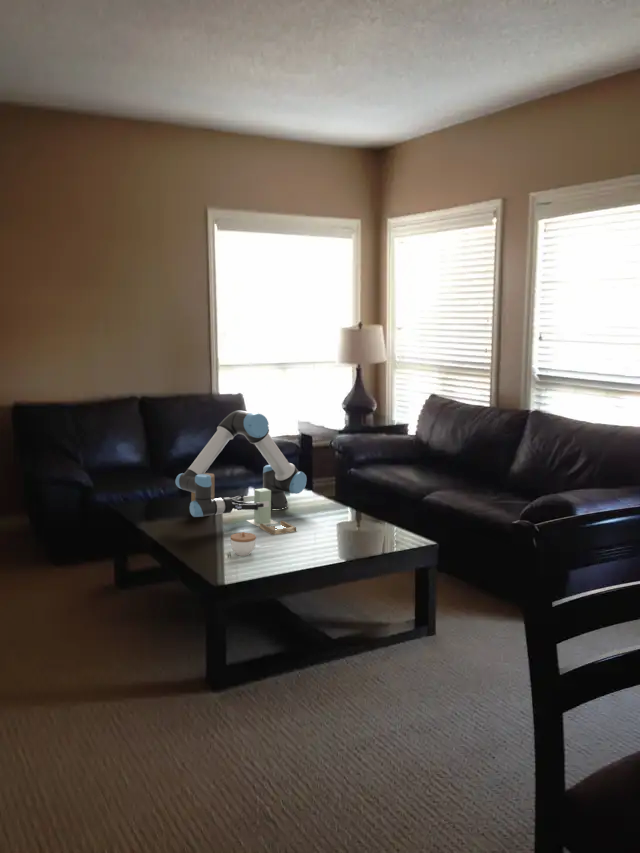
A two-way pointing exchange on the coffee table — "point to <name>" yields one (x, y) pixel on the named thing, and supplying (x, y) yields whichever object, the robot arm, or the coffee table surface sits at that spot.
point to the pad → (263, 523)
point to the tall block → (263, 513)
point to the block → (211, 488)
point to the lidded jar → (243, 543)
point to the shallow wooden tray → (272, 529)
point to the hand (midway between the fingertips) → (261, 500)
